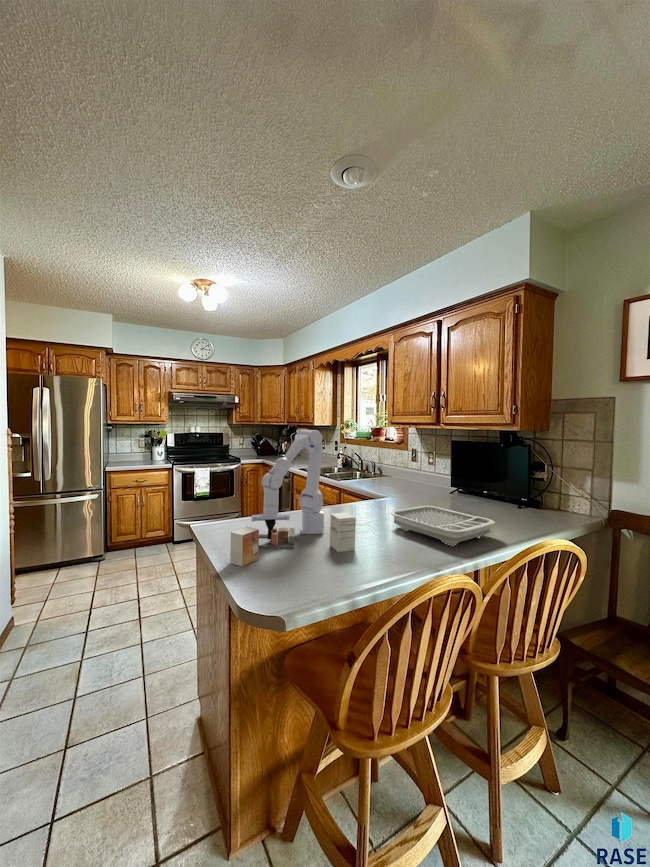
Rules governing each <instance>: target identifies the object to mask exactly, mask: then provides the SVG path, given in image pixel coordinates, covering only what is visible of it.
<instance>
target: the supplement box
mask: <svg viewBox="0 0 650 867" xmlns="http://www.w3.org/2000/svg"><path fill="white" fill-rule="evenodd" d="M356 521H357V519H356V516H354V515H352V514H350V513H349V512H338V513H337V512H336V513H330V529H329V530H330V533H329V534H330V535H329V538H330V539H329V546H330V547H331V548H332V549H333V550H335V551H336V552H337V553H344V552H352V551H355V550H356V524H357V522H356Z"/></svg>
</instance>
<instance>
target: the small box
mask: <svg viewBox="0 0 650 867" xmlns="http://www.w3.org/2000/svg"><path fill="white" fill-rule="evenodd" d="M259 534H260V529H258V528H255V527H250V526H246V527H243V528H241V529H238V530H237V529H236V530H234V531H231V532H230V555H229V556H230V558H229V559H230V561H229V562H230V564H232V565H236V566H239V567H244V566H247V565H248V564H251V563H253V562H255V561H258V560H259V549H260V548H259V545H260V542H259V541H260V539H259ZM258 548H259V549H258Z"/></svg>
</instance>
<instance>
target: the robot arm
mask: <svg viewBox="0 0 650 867" xmlns="http://www.w3.org/2000/svg"><path fill="white" fill-rule="evenodd" d="M323 438H324V437H323V435H322V433H321V432H320V431H319V430H317V429H299V430H297V433H296V434H295V435H294V440H293V441H292V443H291V445H290V446H289V448H288V450H287V452H286V453H285V454H284V456H283V457H279V458H277V459H276V460H275V463H274V465H273V466H272V468H271V469H270V470H269V472H267V473H265V474H264V475H263V476H262V479H260V484H261V486H262V487H263V488H262V489H263V490H262V491H263V505H262V506H263V508H262V509H263V512H262V513H259V514H253V515H251V517H250V518H251V522H261V521H264V523H265V525H266V527H267V534H268V538H267V540H271V535H272V530H273V528H275V526H276V523H277V522H276V521H290V514H289V513H279V495H280V494H279V493H280V490H279V488H281V487H282V486H283V480H284V477H285V476H286V474H287V473H288V471H289V470H290V468H291V467H292V464H291V462H292V461H293V460H294V458H296V457H297V455H298V454H299V453H300V451H301V450H302V449H304V448H306V449H307V450H308V453H309V454H308V463H307V474H306V482H305V483H306V484H305V488H304V489H303V490H302V491H301V494H300V497H299V499H298V505H299V507H300V508H301V509H300V510H301V527H300V535H301V534H302V535H323V534H324V529H325V521H324V520H325V515H324V514H325V513H324V511H323V510H322V509H323V506H324V500H323V493H322V492H321V490H320V489H319V484H320V477H321V475H320V474H321V469H322V468H321V467H322V458H323V451H324V450H323V449H324V448H323Z"/></svg>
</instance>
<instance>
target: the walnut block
mask: <svg viewBox="0 0 650 867" xmlns="http://www.w3.org/2000/svg"><path fill="white" fill-rule="evenodd" d="M277 528H278V545H288V531H289V527H277Z"/></svg>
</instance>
